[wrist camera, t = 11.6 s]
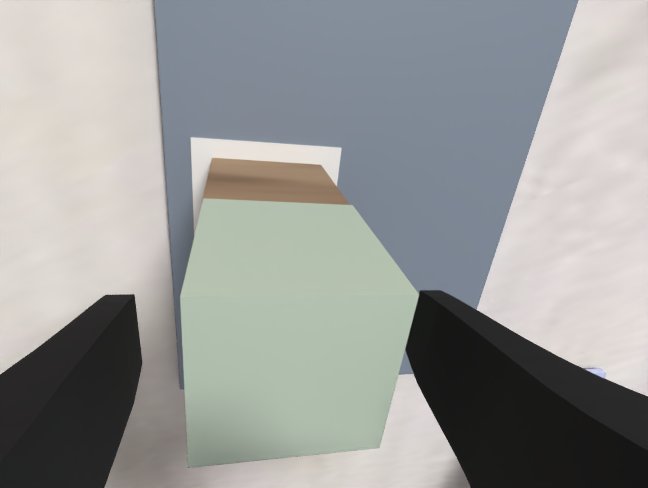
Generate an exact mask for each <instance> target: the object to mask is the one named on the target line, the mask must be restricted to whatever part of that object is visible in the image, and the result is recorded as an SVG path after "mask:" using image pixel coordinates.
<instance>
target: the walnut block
mask: <svg viewBox="0 0 648 488" xmlns="http://www.w3.org/2000/svg"><path fill="white" fill-rule="evenodd" d="M203 198H207V199H229V200H251V201H273V202H295V203H317V204H339V205H350V204H349V203H348V201H347V200H346V198H345V197H344V196H343V194H342V193H341V192H340V190H339V189H338V187H337V186H336V185H335V183H334V182H333V181H332V179H331V178H330V176H329V175H328V174H327V172H326V171H325V170H324V168H323V167H322V165H318V164H303V163H287V162H272V161H256V160H241V159H225V158H212V161H211V165H210V169H209V173H208V178H207V182H206V186H205V190H204V194H203ZM203 198H202V202H203Z"/></svg>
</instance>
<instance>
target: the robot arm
mask: <svg viewBox="0 0 648 488" xmlns="http://www.w3.org/2000/svg"><path fill="white" fill-rule="evenodd" d="M405 351H406V354H407V356H408V359H409V362H410V365H411V368H412V371H413V373H414V376H415V378H416V381H417V383H418V385H419V387H420V389H421V391H422V393H423V395H424V397H425V399H426V401H427V403H428V405H429V407H430V408H431V410H432V412H433V414H434V416H435V418H436V420H437V422H438V423H439V425H440V427H441V429H442V431H443V433H444V435H445V436H446V438H447V440H448V442H449V444H450V446H451V448H452V450H453V451H454V453H455V455H456V457H457V459H458V461H459V463H460V465H461V467H462V469H463V471H464V473H465V475H466V477H467V480H468V482H469V484H470V487H471V488H648V396H645V395H643V394H640V393H638V392H635V391H633V390H630V389H628V388H625V387H623V386H621V385H618V384H616V383H614V382H611V381H609V380H607V379H604V378H605V376H606V373H605V372H604V371H603V370H602V369H601V368H595V369H583V368H581V367H579V366H576V365H574V364H572V363H570V362H568V361H566V360H564V359H562V358H560V357H558V356H556V355H555V354H553V353H551V352H549V351H547V350H545V349H543V348H542V347H540V346H538V345H536V344H534V343H532V342H530V341H529V340H527V339H525V338H523V337H522V336H520V335H518V334H516V333H515V332H513V331H511V330H509V329H508V328H506V327H504V326H503V325H501V324H499V323H498V322H496V321H494V320H493V319H491V318H489V317H488V316H486V315H484V314H483V313H481V312H479V311H477V310H476V309H474V308H472V307H471V306H469V305H467V304H466V303H464V302H462V301H460V300H459V299H457V298H455V297H453V296H451V295H450V294H448V293H445V292H443V291H441V290H420V292H419V297H418V301H417V305H416V309H415V313H414V317H413V320H412V324H411V328H410V332H409V336H408V340H407V344H406V348H405ZM141 367H142V356H141V347H140V339H139V330H138V322H137V313H136V305H135V296H134V294H133V295H105V296H103V297H102V298H101V299H99V300H98V301H97V302H95V303H94V304H93V305H92V306H90V307H89V308H88V309H87V310H85V311H84V312H83V313H82V314H80V315H79V316H78V317H77V318H75V319H74V320H73V321H72V322H70V323H69V324H68V325H67V326H65V327H64V328H63V329H61V330H60V331H59V332H58V333H56V334H55V335H54V336H52V337H51V338H50V339H48V340H47V341H46V342H45V343H43V344H42V345H41V346H39V347H38V348H37V349H35V350H34V351H33V352H31V353H30V354H29V355H27V356H26V357H24V358H23V359H21V360H20V361H19V362H17V363H16V364H14V365H13V366H12V367H10V368H9V369H7V370H6V371H5V372H3V373H2V374H0V488H104V487H105V484H106V481H107V479H108V476H109V473H110V470H111V467H112V464H113V461H114V459H115V456H116V453H117V450H118V447H119V444H120V442H121V439H122V436H123V433H124V430H125V427H126V424H127V421H128V419H129V416H130V413H131V410H132V407H133V404H134V400H135V395H136V391H137V386H138V382H139V377H140V372H141Z"/></svg>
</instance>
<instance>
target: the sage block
mask: <svg viewBox="0 0 648 488" xmlns="http://www.w3.org/2000/svg"><path fill="white" fill-rule="evenodd" d="M418 297H419V294H418V292H417V291H416V290H415V288H414V287H413V286H412V284H411V283H410V281H409V280H408V279H407V277H406V276H405V275H404V273H403V272H402V271H401V269H400V268H399V267H398V265H397V264H396V263H395V261H394V260H393V259H392V257H391V256H390V255H389V253H388V252H387V251H386V249H385V248H384V247H383V245H382V244H381V242H380V241H379V240H378V238H377V237H376V236H375V234H374V233H373V232H372V230H371V229H370V228H369V226H368V225H367V224H366V222H365V221H364V220H363V218H362V217H361V216H360V214H359V213H358V212H357V210H356V209H355V207H354V206H353V205H339V204H317V203H295V202H273V201H251V200H229V199H207V198H203V202H202V206H201V211H200V215H199V219H198V223H197V228H196V232H195V236H194V240H193V244H192V249H191V253H190V257H189V261H188V266H187V270H186V274H185V278H184V283H183V287H182V291H181V295H180V304H181V326H182V348H183V369H184V391H185V412H186V434H187V455H188V468H191V467H201V466H211V465H220V464H230V463H240V462H249V461H259V460H269V459H278V458H288V457H298V456H307V455H317V454H327V453H336V452H346V451H356V450H365V449H375V448H379V447H380V444H381V440H382V436H383V432H384V428H385V424H386V420H387V417H388V413H389V409H390V405H391V401H392V397H393V394H394V390H395V386H396V382H397V378H398V374H399V370H400V367H401V363H402V359H403V355H404V351H405V347H406V344H407V340H408V336H409V332H410V328H411V324H412V320H413V317H414V313H415V309H416V305H417V301H418Z"/></svg>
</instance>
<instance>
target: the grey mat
mask: <svg viewBox="0 0 648 488" xmlns="http://www.w3.org/2000/svg"><path fill="white" fill-rule="evenodd" d="M577 3H578V0H154V5H155V20H156V35H157V50H158V65H159V81H160V96H161V111H162V126H163V141H164V156H165V171H166V186H167V201H168V216H169V231H170V246H171V261H172V276H173V291H174V306H175V321H176V337H177V352H178V367H179V382H180V389H184V369H183V348H182V326H181V304H180V295H181V291H182V287H183V283H184V278H185V274H186V270H187V266H188V261H189V257H190V253H191V249H192V244H193V240H194V236H195V232H196V228H197V223H198V219H199V215H200V211H201V206H202V198H203V194H204V190H205V186H206V182H207V178H208V173H209V169H210V165H211V161H212V158H225V159H241V160H256V161H272V162H287V163H303V164H318V165H322V167H323V168H324V170H325V171H326V172H327V174H328V175H329V176H330V178H331V179H332V181H333V182H334V183H335V185H336V186H337V187H338V189H339V190H340V192H341V193H342V194H343V196H344V197H345V198H346V200H347V201H348V203H349V204H350V205H353V206H354V207H355V209H356V210H357V212H358V213H359V214H360V216H361V217H362V218H363V220H364V221H365V222H366V224H367V225H368V226H369V228H370V229H371V230H372V232H373V233H374V234H375V236H376V237H377V238H378V240H379V241H380V242H381V244H382V245H383V247H384V248H385V249H386V251H387V252H388V253H389V255H390V256H391V257H392V259H393V260H394V261H395V263H396V264H397V265H398V267H399V268H400V269H401V271H402V272H403V273H404V275H405V276H406V277H407V279H408V280H409V281H410V283H411V284H412V286H413V287H414V288H415V290H416V291H417V292H418V294H419V292H420V290H441V291H443V292H445V293H448V294H450V295H451V296H453V297H455V298H457V299H459V300H460V301H462V302H464V303H466V304H467V305H469V306H471V307H472V308H474V309H477V306H478V303H479V300H480V297H481V294H482V291H483V288H484V285H485V282H486V279H487V276H488V273H489V270H490V267H491V264H492V261H493V258H494V255H495V252H496V249H497V246H498V243H499V240H500V237H501V234H502V231H503V228H504V225H505V221H506V218H507V215H508V212H509V209H510V206H511V203H512V200H513V197H514V194H515V191H516V188H517V185H518V182H519V179H520V176H521V173H522V170H523V167H524V164H525V161H526V158H527V155H528V152H529V149H530V146H531V143H532V140H533V137H534V134H535V131H536V127H537V124H538V121H539V118H540V115H541V112H542V109H543V106H544V103H545V100H546V97H547V94H548V91H549V88H550V85H551V82H552V79H553V76H554V73H555V70H556V67H557V64H558V61H559V58H560V55H561V52H562V49H563V46H564V43H565V40H566V36H567V33H568V30H569V27H570V24H571V21H572V18H573V15H574V12H575V9H576V6H577ZM405 348H406V347H405ZM401 374H414V373H413V371H412V368H411V365H410V362H409V359H408V356H407V354H406V351H404V355H403V359H402V363H401V367H400V370H399V374H398V375H401Z"/></svg>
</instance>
